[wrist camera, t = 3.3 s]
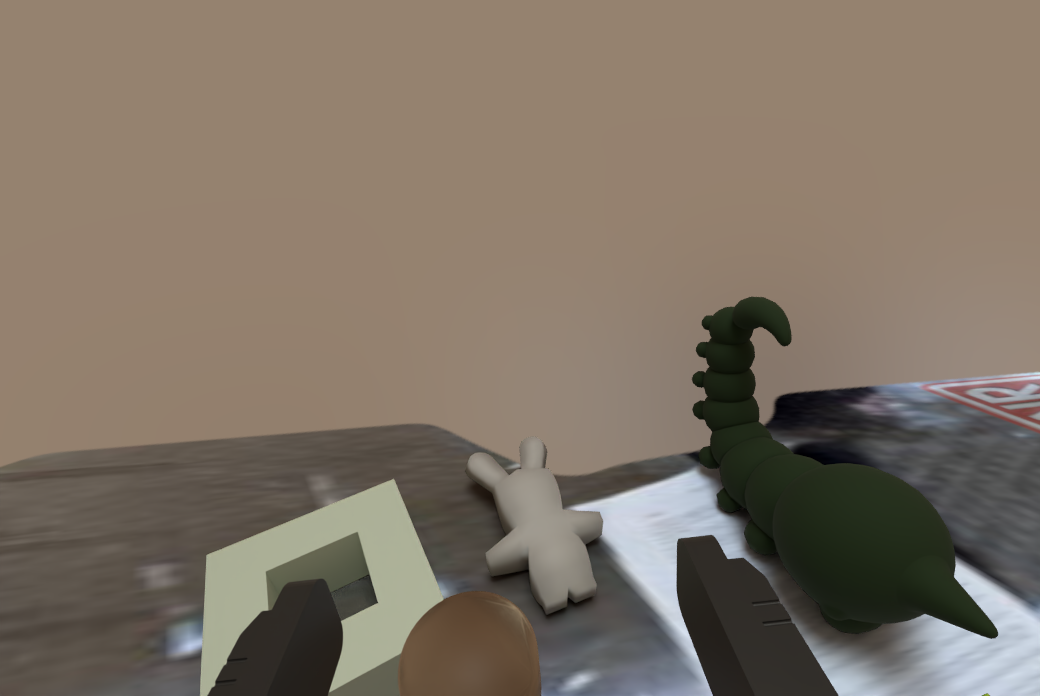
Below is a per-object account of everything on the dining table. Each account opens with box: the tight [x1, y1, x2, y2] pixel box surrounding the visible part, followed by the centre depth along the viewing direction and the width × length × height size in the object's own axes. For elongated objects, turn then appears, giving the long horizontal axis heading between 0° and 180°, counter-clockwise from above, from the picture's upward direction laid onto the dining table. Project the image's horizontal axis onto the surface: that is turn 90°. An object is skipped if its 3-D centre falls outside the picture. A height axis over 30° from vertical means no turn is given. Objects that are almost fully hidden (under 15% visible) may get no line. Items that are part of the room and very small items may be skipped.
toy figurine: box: [692, 297, 998, 639], centre depth 34 cm, size 9×19×25 cm
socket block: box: [200, 479, 444, 696], centre depth 34 cm, size 14×14×5 cm
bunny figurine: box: [465, 437, 603, 615], centre depth 40 cm, size 10×5×15 cm
